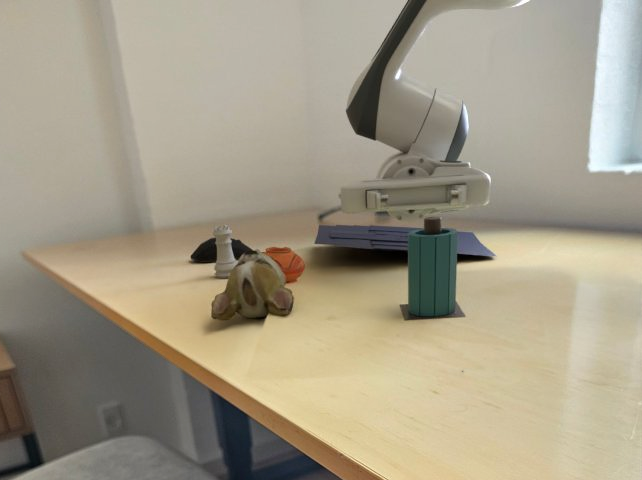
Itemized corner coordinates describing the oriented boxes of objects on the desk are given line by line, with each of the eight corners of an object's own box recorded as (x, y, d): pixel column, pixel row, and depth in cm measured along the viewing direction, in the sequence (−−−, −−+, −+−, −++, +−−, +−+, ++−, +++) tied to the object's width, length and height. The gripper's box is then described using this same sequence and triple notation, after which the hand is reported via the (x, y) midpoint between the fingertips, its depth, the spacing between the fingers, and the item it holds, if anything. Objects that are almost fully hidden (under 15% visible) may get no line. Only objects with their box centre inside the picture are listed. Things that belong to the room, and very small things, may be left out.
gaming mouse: (269, 257, 123) (267, 235, 122) (190, 264, 122) (187, 242, 120) (267, 251, 129) (265, 230, 127) (191, 258, 128) (188, 237, 126)
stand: (456, 312, 82) (459, 211, 76) (465, 329, 76) (469, 220, 70) (399, 316, 82) (398, 215, 77) (404, 332, 76) (404, 225, 71)
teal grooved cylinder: (450, 302, 81) (452, 226, 76) (458, 315, 76) (460, 234, 71) (406, 305, 81) (406, 229, 77) (410, 318, 76) (410, 237, 72)
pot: (260, 280, 104) (266, 237, 101) (306, 292, 103) (314, 249, 100) (241, 291, 98) (247, 245, 94) (290, 304, 96) (298, 258, 93)
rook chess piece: (225, 272, 114) (219, 224, 110) (246, 273, 112) (240, 224, 108) (209, 278, 111) (202, 228, 107) (230, 279, 109) (224, 229, 105)
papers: (318, 237, 130) (319, 218, 129) (470, 246, 129) (473, 227, 128) (312, 263, 109) (314, 240, 107) (494, 273, 108) (498, 250, 106)
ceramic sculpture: (294, 234, 90) (287, 263, 77) (300, 296, 94) (294, 333, 81) (217, 240, 90) (198, 270, 78) (227, 301, 95) (210, 339, 82)
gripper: (337, 170, 96) (337, 179, 83) (479, 160, 94) (500, 168, 82) (339, 215, 98) (339, 230, 86) (477, 206, 97) (497, 220, 85)
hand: (419, 200), depth 84 cm, fingers open, 8 cm apart
